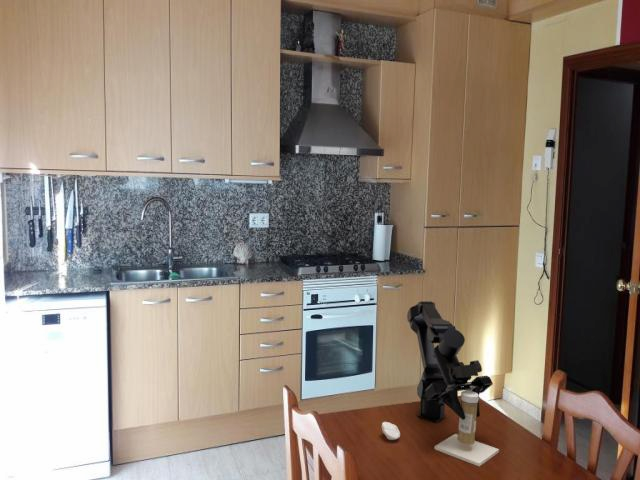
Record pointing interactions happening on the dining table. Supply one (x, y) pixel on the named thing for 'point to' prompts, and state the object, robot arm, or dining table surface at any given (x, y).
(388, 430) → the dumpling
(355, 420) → the dining table surface
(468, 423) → the sprinkles bottle
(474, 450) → the ceramic tile
